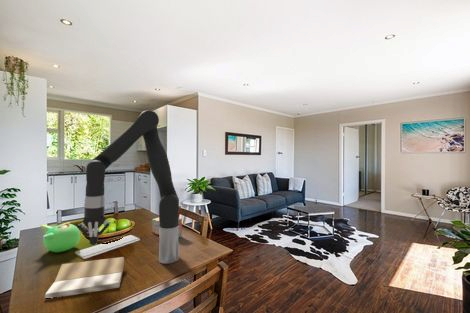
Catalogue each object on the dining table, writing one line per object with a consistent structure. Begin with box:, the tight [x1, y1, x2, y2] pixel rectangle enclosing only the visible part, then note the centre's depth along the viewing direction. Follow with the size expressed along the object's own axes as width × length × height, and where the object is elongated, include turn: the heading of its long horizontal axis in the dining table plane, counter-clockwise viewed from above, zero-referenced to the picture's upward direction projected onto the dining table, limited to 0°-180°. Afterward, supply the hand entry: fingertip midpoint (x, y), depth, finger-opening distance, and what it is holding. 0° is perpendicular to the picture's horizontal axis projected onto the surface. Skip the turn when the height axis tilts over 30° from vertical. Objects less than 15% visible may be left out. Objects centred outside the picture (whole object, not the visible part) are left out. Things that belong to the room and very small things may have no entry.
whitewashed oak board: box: [44, 272, 123, 299], centre depth 89 cm, size 24×8×2 cm, turn 110°
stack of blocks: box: [151, 216, 183, 239], centre depth 147 cm, size 21×6×12 cm, turn 59°
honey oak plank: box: [54, 256, 125, 282], centre depth 97 cm, size 24×8×2 cm, turn 110°
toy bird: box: [39, 222, 81, 253], centre depth 121 cm, size 18×17×15 cm
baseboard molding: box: [74, 234, 141, 260], centre depth 127 cm, size 31×3×12 cm
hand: (93, 244), depth 99 cm, fingers closed
